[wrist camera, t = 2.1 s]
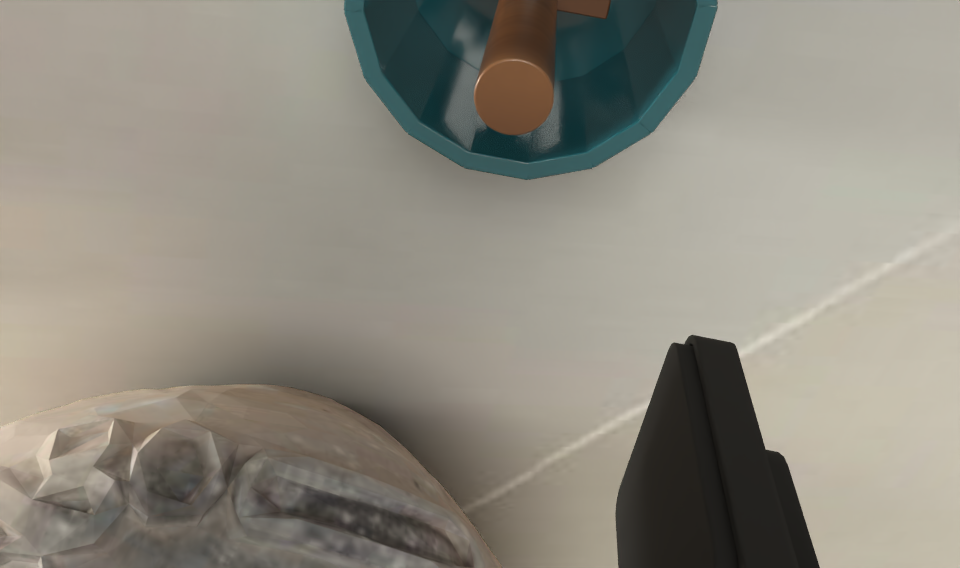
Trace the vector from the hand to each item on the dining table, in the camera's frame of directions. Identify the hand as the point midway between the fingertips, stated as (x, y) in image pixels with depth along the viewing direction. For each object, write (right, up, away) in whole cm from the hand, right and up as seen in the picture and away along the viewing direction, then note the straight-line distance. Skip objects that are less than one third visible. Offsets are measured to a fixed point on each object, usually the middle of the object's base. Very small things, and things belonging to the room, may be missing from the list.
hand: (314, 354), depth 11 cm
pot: (+5, +15, +26) cm, 30 cm away
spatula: (+5, +15, +25) cm, 30 cm away
